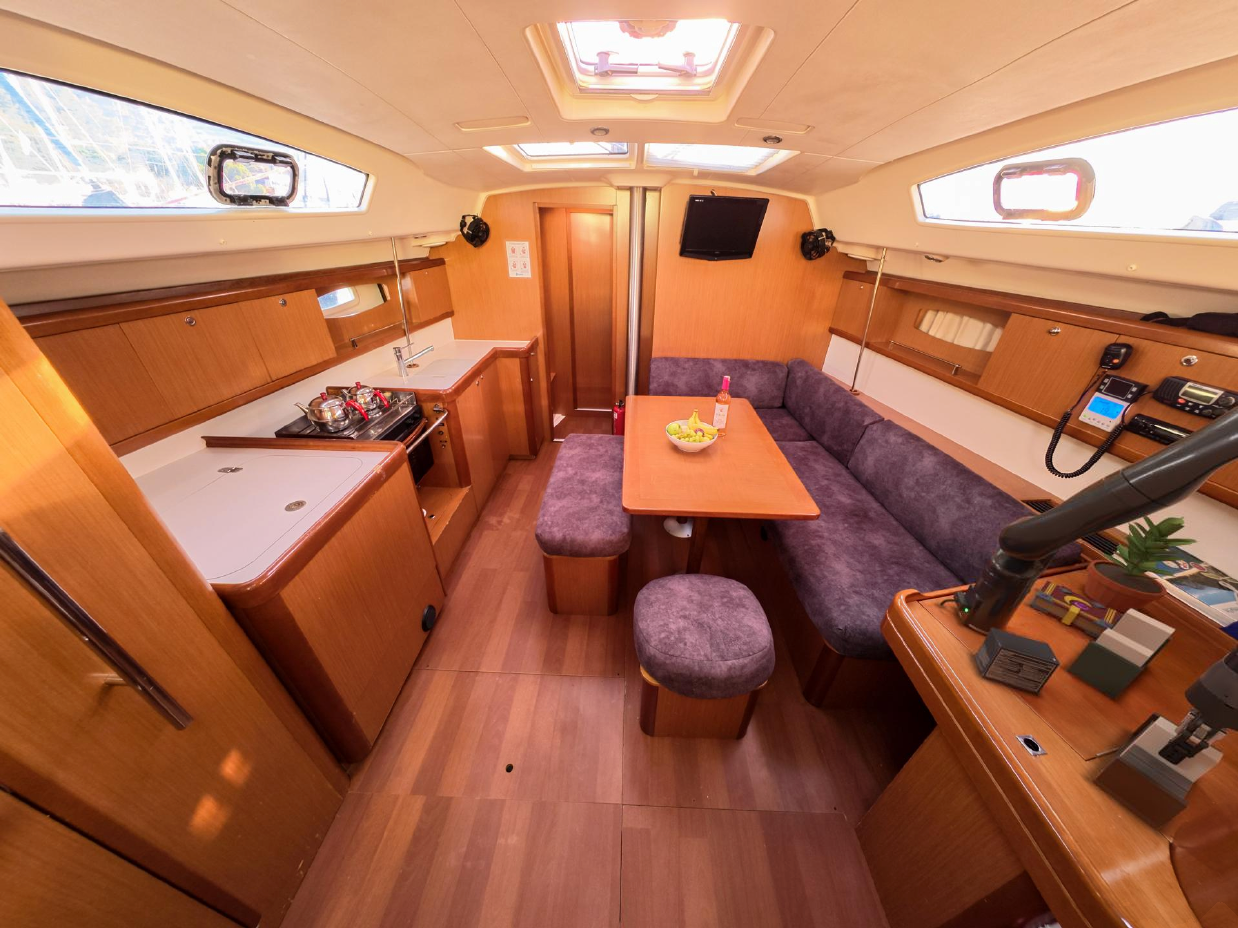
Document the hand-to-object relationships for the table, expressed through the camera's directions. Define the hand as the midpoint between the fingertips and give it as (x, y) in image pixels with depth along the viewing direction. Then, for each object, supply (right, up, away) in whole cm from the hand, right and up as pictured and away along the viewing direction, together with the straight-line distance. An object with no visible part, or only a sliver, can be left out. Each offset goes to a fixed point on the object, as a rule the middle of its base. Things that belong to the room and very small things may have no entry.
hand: (1170, 753), depth 72 cm
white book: (0, -6, +3) cm, 7 cm away
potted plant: (+45, +12, +46) cm, 65 cm away
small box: (-8, +2, +23) cm, 24 cm away
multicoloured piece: (+19, +3, +25) cm, 31 cm away
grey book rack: (0, -7, +4) cm, 8 cm away
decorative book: (+27, +10, +39) cm, 49 cm away
